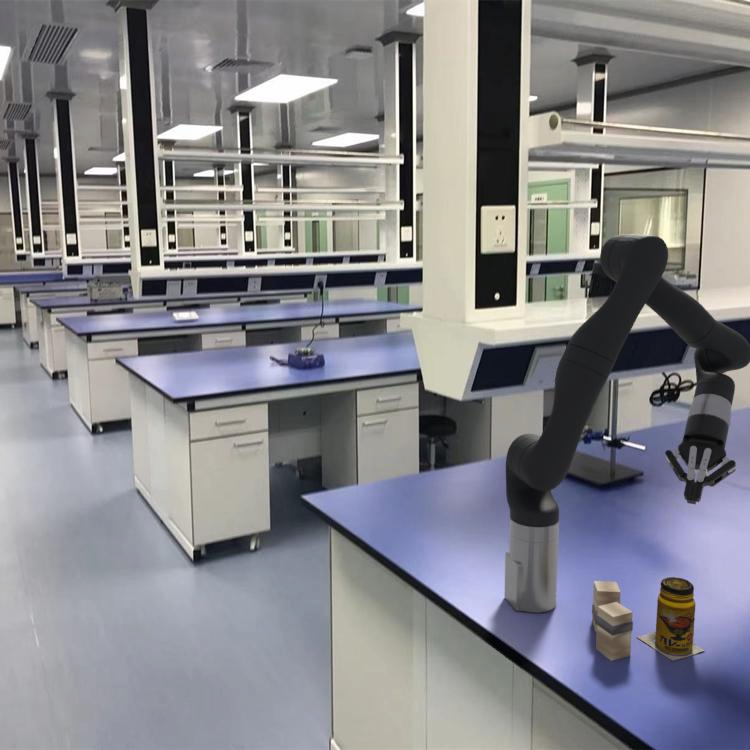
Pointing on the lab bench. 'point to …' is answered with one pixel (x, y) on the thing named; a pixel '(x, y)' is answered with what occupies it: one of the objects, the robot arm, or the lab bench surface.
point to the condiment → (674, 620)
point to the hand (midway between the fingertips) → (691, 501)
